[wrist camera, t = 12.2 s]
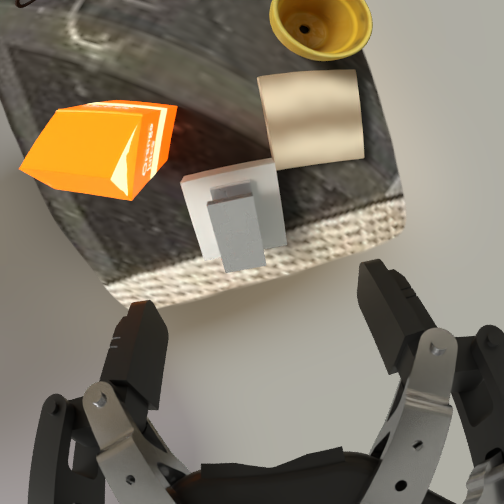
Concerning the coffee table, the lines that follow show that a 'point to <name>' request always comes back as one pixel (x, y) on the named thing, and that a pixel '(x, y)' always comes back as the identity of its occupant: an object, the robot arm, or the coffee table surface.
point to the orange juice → (103, 147)
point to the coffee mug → (23, 4)
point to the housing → (236, 226)
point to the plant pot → (322, 27)
